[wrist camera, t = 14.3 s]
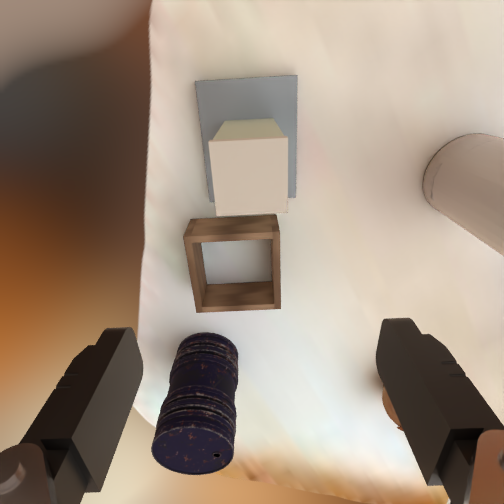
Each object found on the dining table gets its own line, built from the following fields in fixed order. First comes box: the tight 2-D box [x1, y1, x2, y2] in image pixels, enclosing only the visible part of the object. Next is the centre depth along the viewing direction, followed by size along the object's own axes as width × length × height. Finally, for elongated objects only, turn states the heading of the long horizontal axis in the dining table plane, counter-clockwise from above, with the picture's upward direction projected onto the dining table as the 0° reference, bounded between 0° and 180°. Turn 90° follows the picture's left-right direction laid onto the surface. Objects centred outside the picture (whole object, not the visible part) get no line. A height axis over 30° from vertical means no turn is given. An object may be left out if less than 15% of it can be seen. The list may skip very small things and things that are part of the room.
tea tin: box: [208, 118, 288, 216], centre depth 28 cm, size 5×5×14 cm
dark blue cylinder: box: [151, 333, 238, 475], centre depth 44 cm, size 10×10×15 cm
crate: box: [183, 215, 281, 313], centre depth 39 cm, size 11×11×5 cm
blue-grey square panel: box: [195, 75, 297, 202], centre depth 34 cm, size 10×12×1 cm
